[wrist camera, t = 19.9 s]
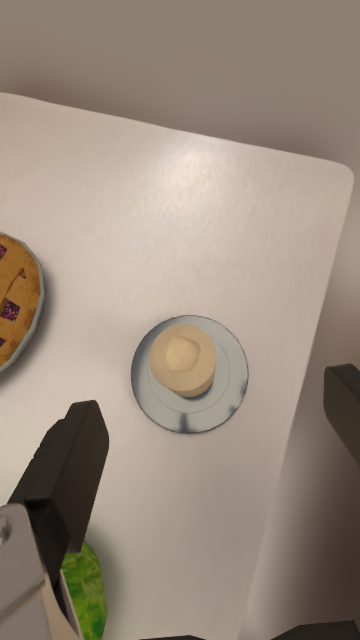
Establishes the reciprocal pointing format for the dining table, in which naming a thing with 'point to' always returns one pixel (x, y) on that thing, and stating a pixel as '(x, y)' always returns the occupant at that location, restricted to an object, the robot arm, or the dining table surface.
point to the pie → (18, 298)
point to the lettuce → (86, 591)
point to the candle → (183, 360)
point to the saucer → (201, 408)
